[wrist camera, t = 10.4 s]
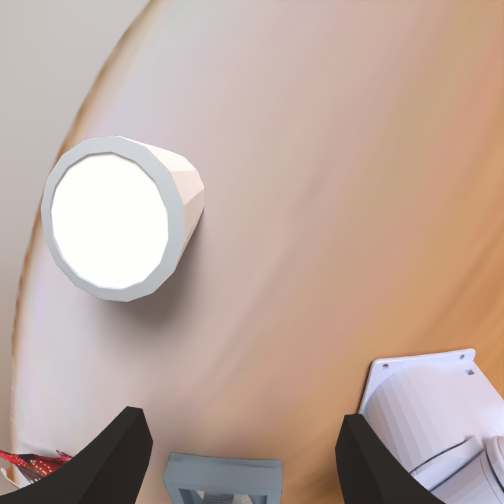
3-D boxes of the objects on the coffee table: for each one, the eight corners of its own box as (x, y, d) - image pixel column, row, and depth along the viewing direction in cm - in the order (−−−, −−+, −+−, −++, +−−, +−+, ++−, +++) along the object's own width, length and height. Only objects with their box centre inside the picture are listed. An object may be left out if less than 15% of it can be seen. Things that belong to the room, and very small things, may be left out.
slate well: (281, 460, 25) (282, 489, 21) (275, 508, 28) (275, 531, 25) (171, 452, 25) (162, 479, 22) (187, 501, 29) (182, 524, 25)
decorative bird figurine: (124, 484, 29) (101, 546, 19) (7, 422, 28) (-27, 469, 18) (125, 475, 28) (100, 541, 18) (3, 410, 27) (-35, 458, 17)
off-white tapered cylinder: (177, 274, 20) (136, 332, 13) (91, 213, 19) (23, 244, 12) (239, 181, 18) (222, 198, 11) (143, 118, 17) (80, 105, 10)
